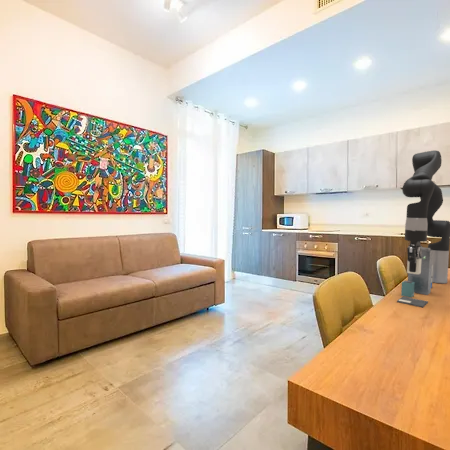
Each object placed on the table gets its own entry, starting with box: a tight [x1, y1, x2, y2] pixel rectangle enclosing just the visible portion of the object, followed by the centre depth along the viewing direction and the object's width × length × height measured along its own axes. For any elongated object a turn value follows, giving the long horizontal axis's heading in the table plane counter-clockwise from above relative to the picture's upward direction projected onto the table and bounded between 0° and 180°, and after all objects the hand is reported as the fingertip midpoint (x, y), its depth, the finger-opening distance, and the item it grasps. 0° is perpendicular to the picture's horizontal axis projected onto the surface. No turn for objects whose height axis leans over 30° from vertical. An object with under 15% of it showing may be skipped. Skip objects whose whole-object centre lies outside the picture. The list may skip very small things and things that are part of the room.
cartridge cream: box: [406, 257, 421, 275], centre depth 117 cm, size 4×4×6 cm
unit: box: [407, 246, 433, 296], centre depth 134 cm, size 7×8×21 cm
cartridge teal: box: [400, 280, 415, 298], centre depth 128 cm, size 4×4×6 cm
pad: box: [396, 296, 429, 308], centre depth 118 cm, size 9×9×1 cm
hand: (413, 270), depth 117 cm, fingers closed on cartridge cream, 4 cm apart
